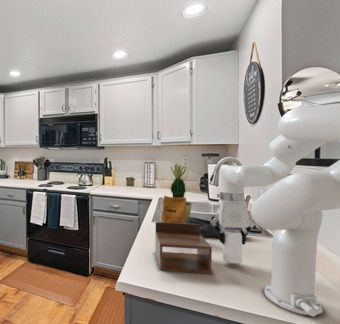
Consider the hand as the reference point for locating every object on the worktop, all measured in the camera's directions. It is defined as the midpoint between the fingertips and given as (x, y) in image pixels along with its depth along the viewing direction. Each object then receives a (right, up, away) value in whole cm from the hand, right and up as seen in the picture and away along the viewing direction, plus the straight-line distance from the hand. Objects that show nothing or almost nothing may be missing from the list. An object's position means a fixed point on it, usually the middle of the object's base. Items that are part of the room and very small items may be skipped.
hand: (232, 242), depth 87 cm
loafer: (+11, -8, +30) cm, 33 cm away
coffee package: (-13, -8, +27) cm, 31 cm away
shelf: (-19, -9, +2) cm, 21 cm away
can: (0, -7, 0) cm, 7 cm away
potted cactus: (-4, -7, +45) cm, 45 cm away
